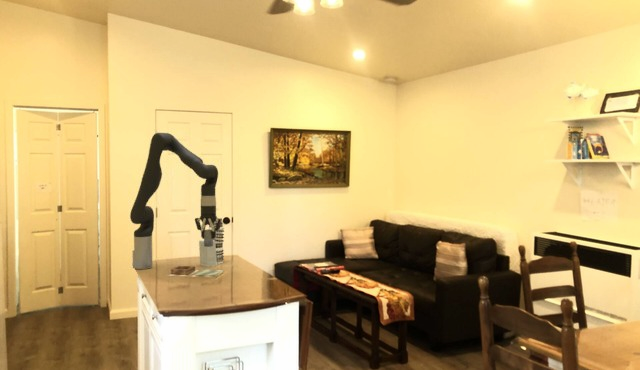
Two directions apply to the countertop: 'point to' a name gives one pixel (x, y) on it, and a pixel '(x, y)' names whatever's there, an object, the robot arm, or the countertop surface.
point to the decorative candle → (219, 243)
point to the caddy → (193, 272)
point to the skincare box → (207, 254)
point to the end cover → (208, 238)
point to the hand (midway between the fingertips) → (208, 238)
